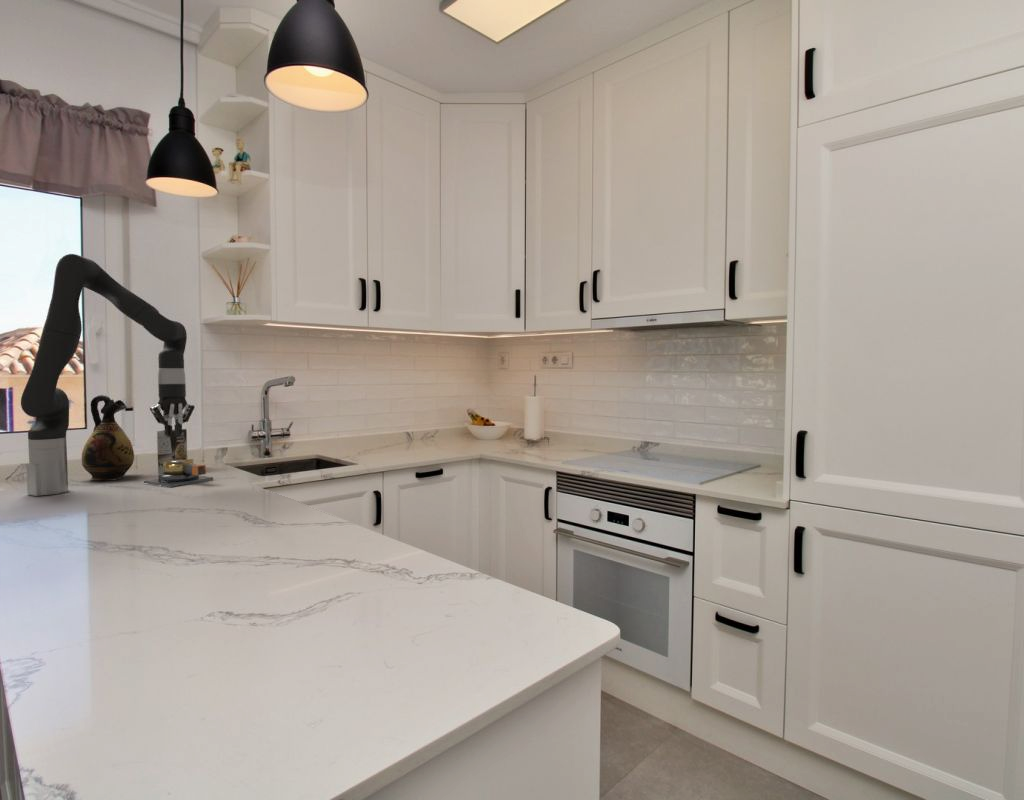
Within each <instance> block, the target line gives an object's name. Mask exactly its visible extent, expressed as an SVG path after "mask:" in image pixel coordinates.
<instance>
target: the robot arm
mask: <svg viewBox="0 0 1024 800" xmlns="http://www.w3.org/2000/svg"><path fill="white" fill-rule="evenodd" d="M83 288H86V289H88V290H89V291H92V292H94V293H97V294H98V295H100V296H102V297H103V298H105V299H106V300H108V301H109V302H110V303H111V304H112V305H113V306H114V307H115V308H116V309H117V310H118V311H120V312H121V313H122V314H123V315H125V316H126V317H127V318H129V319H131V320H132V321H134V322H135V323H137V324H138V325H140V326H142V327H143V328H144V329H145V330H146V331H147V332H148V333H149V334H150V335H151V336H153V337H154V338H155V339H157V340H159V341H162V342H163V348H162V350H161V351H159V352H158V358H157V359H158V375H157V378H158V379H157V383H158V384H157V385H158V388H157V389H158V398H159V400H158V402H157V404H156V405H155V406H150V407H149V410H150V412H151V414H152V415H153V417H154V418H155V420H156V422H157V424H162V425H163V427H164V430H165V435H166V436H167V437H172V430H173V425H172V424H173V423H172V422H173V419H174V429H175V436H181V434H182V429H183V424H185V423H188V422H189V420H190V417H191V416H192V414H193V412H194V410H195V405H193V404H189V403H188V401H187V400H186V397H187V393H186V392H187V388H186V385H187V383H186V373H185V358H184V354H185V352H186V345H187V340H188V337H187V335H188V334H187V330H186V327H185V326H184V324H183V323H181V322H179V321H176V320H172V319H169V318H167V317H165V316H164V315H163V314H161V313H160V311H159V310H158V309H157V308H156V307H154V306H153V305H152V304H150V303H149V302H148V301H146V300H144V299H143V298H141V297H140V296H138V295H137V294H135V293H133V291H130V290H129V289H127V288H126V287H124V286H123V285H122V284H120V283H119V282H118V281H117V280H115V278H113V277H112V276H111V275H109V274H108V272H107V271H106V270H104V269H103V268H102V267H101V266H100V264H98V263H97V262H95V261H94V260H92V259H89V258H87V257H85V256H82V255H79V254H76V253H75V254H74V253H68V254H65V255H63V256H62V257H60V259H59V260H58V261H57V264H56V266H55V272H54V280H53V288H52V294H51V300H50V302H49V305H48V306H49V307H48V311H47V315H46V318H45V321H44V325H43V328H42V332H41V335H40V340H39V345H38V349H37V352H36V354H35V355H36V356H35V358H34V361H33V362H34V363H33V367H32V369H31V373H30V375H29V378H28V380H27V382H26V385H25V387H24V389H23V392H22V394H21V398H20V406H21V409H22V411H23V412H24V413H25V414H26V415H27V416H28V417H32V418H35V422H34V425H33V426H32V427H31V428H30V429H29V430H28V431H27V440H28V441H27V443H28V445H27V446H28V463H26V464H25V465H26V467H25V470H26V491H27V492H26V493H27V495H29V496H34V497H39V496H49V495H57V494H63V493H67V492H69V473H68V471H69V470H68V452H67V451H68V450H67V449H68V448H67V445H68V444H67V432H68V429H69V426H70V400H69V398H68V395H67V393H66V392H65V391H64V390H63V389H61V388H59V387H57V385H58V382H59V379H60V376H61V374H62V371H63V370H64V369H65V367H66V366H67V365H68V364H69V362H70V361H71V359H72V358H73V357H74V356H75V354H76V352H77V349H78V348H79V347H78V346H79V343H80V339H81V336H82V329H83V326H82V318H81V314H80V313H81V312H80V298H81V294H82V291H83ZM183 410H184V412H183ZM161 411H162V412H163V413H162V412H161Z"/></svg>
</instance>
